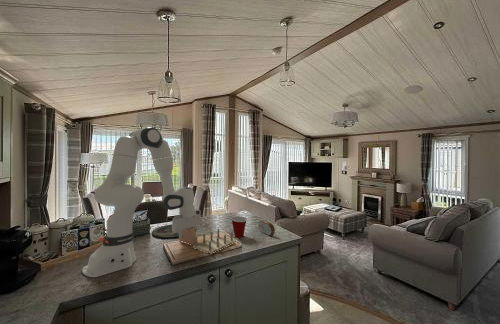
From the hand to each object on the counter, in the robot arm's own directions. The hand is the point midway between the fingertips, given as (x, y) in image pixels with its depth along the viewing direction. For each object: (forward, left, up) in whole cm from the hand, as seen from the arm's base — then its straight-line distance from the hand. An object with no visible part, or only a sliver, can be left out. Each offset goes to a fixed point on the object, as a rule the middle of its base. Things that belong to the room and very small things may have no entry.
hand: (187, 235), depth 140 cm
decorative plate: (+8, +24, -5) cm, 26 cm away
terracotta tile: (0, -1, -5) cm, 4 cm away
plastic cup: (+27, -20, -5) cm, 33 cm away
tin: (+41, -32, -5) cm, 52 cm away
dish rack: (+6, -18, -4) cm, 19 cm away
